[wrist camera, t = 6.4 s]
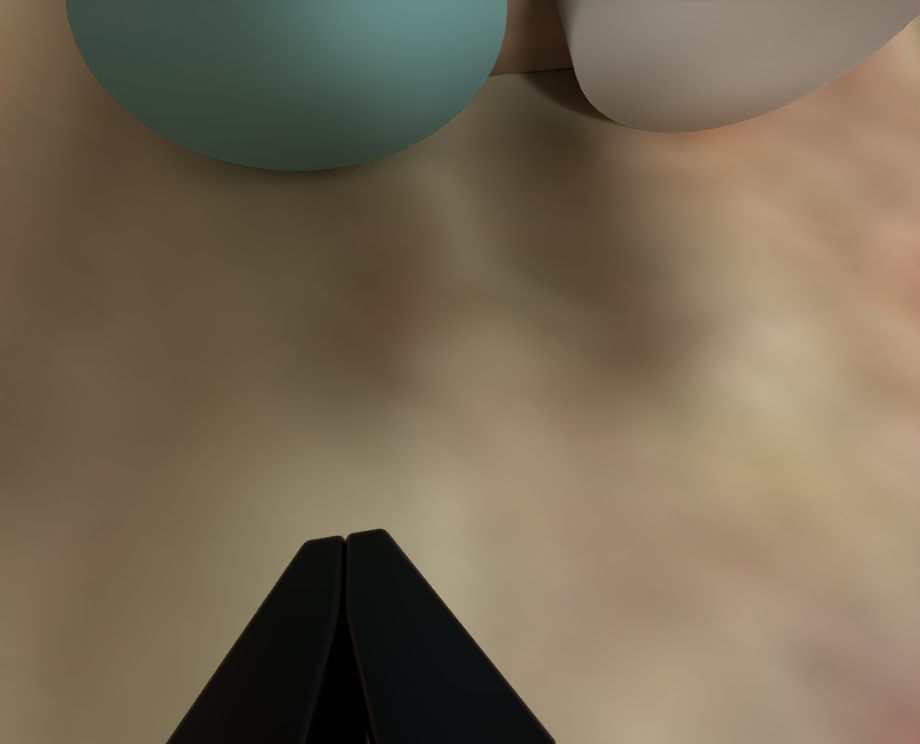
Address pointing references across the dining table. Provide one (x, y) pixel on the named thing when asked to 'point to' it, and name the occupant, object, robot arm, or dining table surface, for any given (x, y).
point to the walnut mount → (697, 52)
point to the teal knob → (291, 72)
